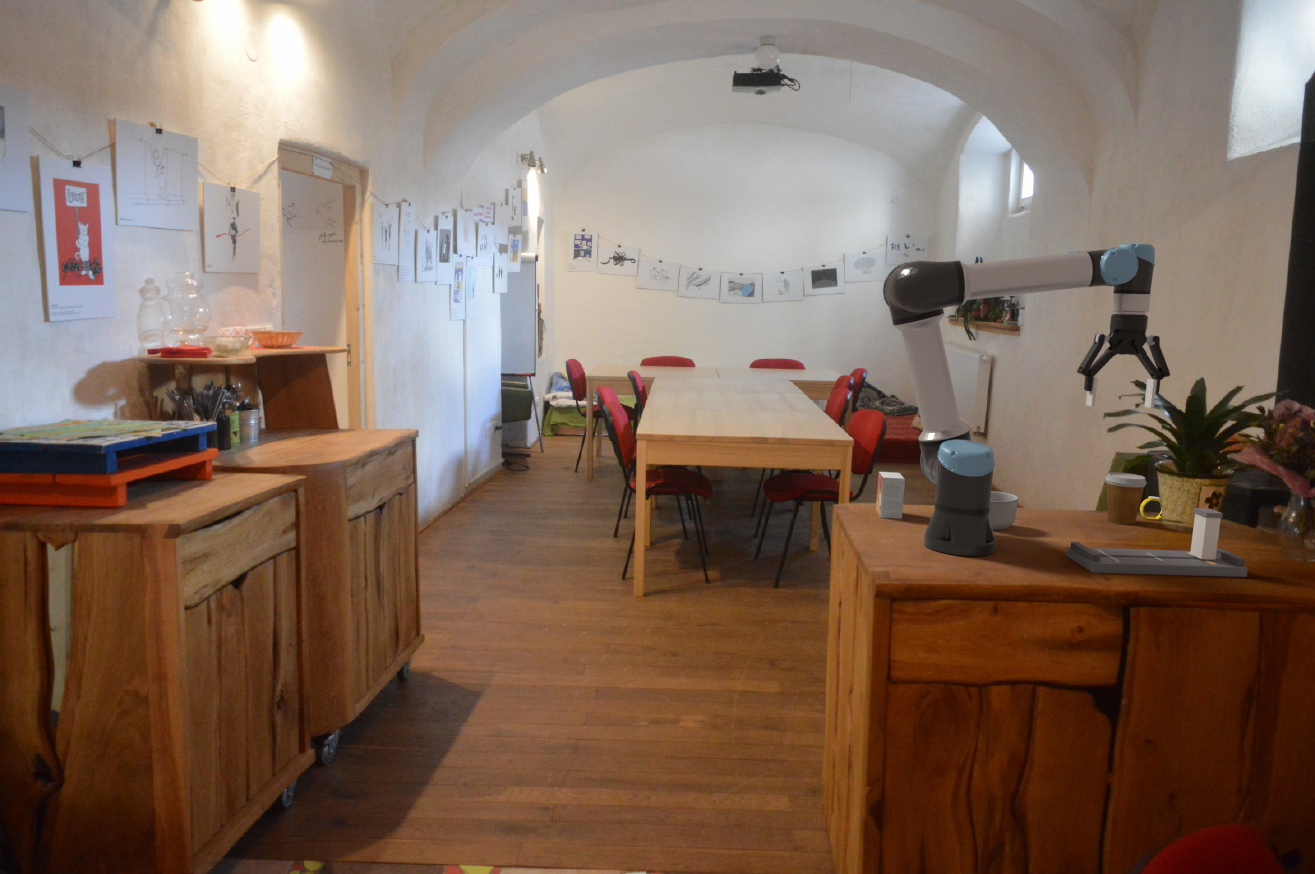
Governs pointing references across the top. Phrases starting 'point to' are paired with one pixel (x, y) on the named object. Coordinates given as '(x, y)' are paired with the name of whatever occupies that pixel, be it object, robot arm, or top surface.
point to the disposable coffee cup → (1124, 496)
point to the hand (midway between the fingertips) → (1119, 406)
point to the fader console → (1156, 562)
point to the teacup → (1002, 510)
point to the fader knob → (1205, 533)
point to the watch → (1145, 504)
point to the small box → (890, 495)
